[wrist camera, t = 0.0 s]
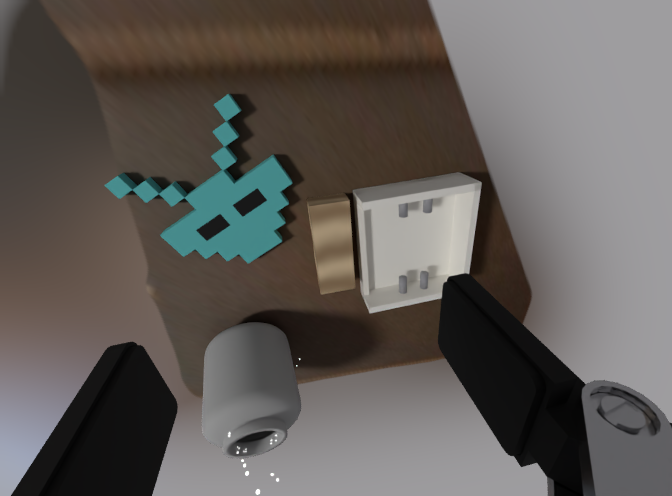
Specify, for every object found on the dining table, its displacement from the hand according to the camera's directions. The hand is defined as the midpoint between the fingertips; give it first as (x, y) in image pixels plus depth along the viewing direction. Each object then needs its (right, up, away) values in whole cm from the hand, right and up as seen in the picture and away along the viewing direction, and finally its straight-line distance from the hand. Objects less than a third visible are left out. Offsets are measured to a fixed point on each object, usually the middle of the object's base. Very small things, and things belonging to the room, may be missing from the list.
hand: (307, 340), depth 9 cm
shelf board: (0, +4, +41) cm, 41 cm away
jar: (-14, -16, +48) cm, 53 cm away
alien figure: (-16, +10, +34) cm, 39 cm away
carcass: (+13, +5, +43) cm, 45 cm away
